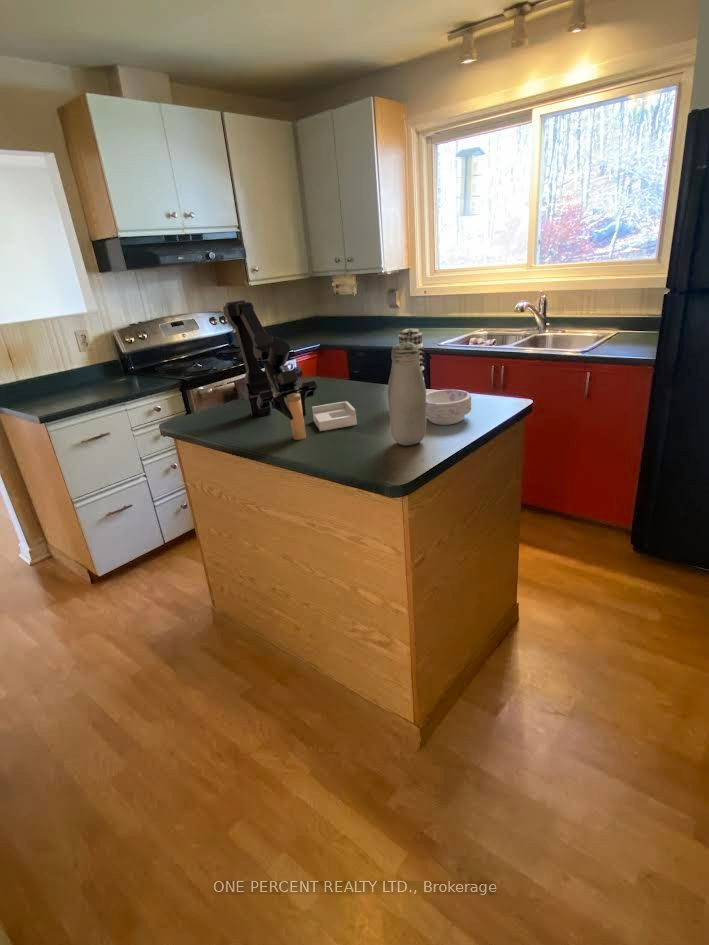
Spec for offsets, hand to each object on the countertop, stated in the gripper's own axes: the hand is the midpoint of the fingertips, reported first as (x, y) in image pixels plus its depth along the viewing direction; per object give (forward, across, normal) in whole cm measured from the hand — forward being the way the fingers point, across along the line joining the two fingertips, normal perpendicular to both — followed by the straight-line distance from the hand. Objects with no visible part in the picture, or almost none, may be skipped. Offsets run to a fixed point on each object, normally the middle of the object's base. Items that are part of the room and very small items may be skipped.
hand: (298, 417), depth 154 cm
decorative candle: (+2, +46, +8) cm, 46 cm away
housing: (+1, +15, +9) cm, 17 cm away
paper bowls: (+18, +41, -8) cm, 46 cm away
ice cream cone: (+4, 0, +6) cm, 7 cm away
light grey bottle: (+24, +21, -14) cm, 35 cm away
